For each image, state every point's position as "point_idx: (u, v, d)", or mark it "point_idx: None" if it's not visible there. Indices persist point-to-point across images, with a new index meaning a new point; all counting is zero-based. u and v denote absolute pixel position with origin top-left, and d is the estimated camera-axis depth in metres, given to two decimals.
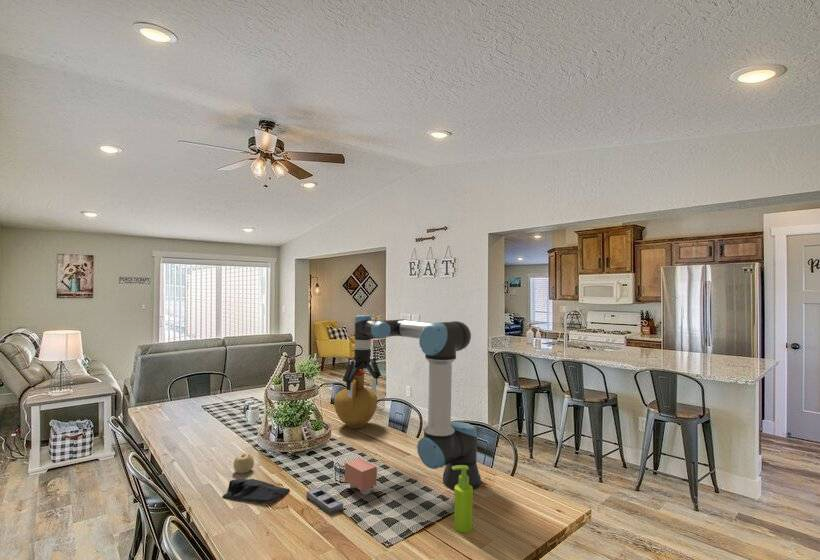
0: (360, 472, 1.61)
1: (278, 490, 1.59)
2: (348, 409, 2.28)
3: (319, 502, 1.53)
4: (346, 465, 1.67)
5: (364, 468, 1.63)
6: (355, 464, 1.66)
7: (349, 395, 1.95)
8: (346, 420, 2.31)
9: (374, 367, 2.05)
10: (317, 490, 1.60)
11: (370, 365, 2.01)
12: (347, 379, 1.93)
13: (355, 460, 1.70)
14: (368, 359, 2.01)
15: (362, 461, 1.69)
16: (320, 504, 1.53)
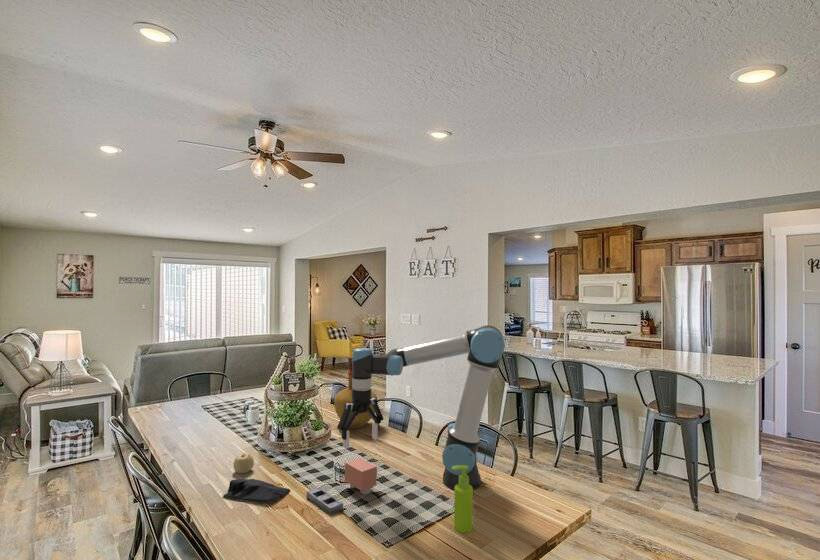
0: (360, 472, 1.61)
1: (278, 490, 1.59)
2: None
3: (319, 502, 1.53)
4: (346, 465, 1.67)
5: (364, 468, 1.63)
6: (355, 464, 1.66)
7: (345, 445, 1.63)
8: None
9: (375, 410, 1.73)
10: (317, 490, 1.60)
11: (370, 408, 1.69)
12: (343, 427, 1.61)
13: (355, 460, 1.70)
14: (368, 401, 1.69)
15: (362, 461, 1.69)
16: (320, 504, 1.53)
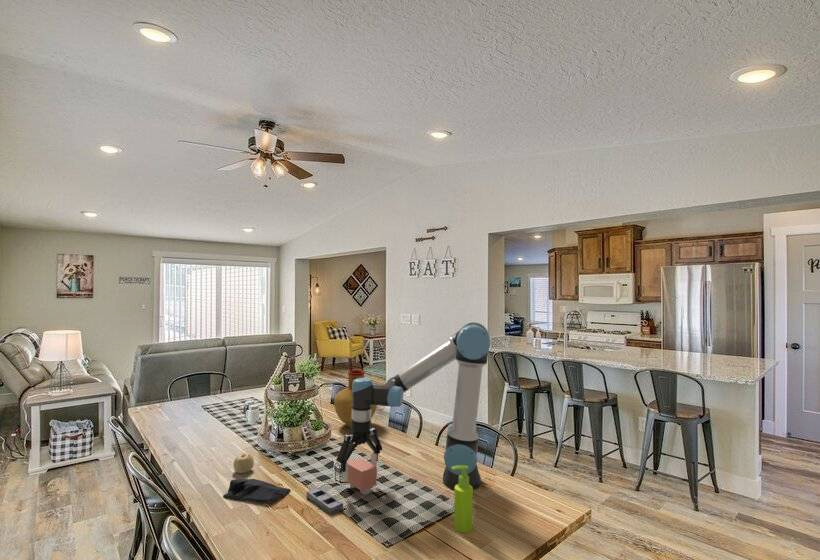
0: (360, 472, 1.61)
1: (279, 490, 1.59)
2: (348, 409, 2.28)
3: (319, 502, 1.53)
4: None
5: (364, 468, 1.63)
6: (355, 464, 1.66)
7: (344, 478, 1.62)
8: (346, 420, 2.31)
9: (374, 440, 1.71)
10: (317, 490, 1.60)
11: None
12: (342, 459, 1.59)
13: (355, 460, 1.70)
14: (367, 432, 1.68)
15: (362, 461, 1.69)
16: (320, 504, 1.53)
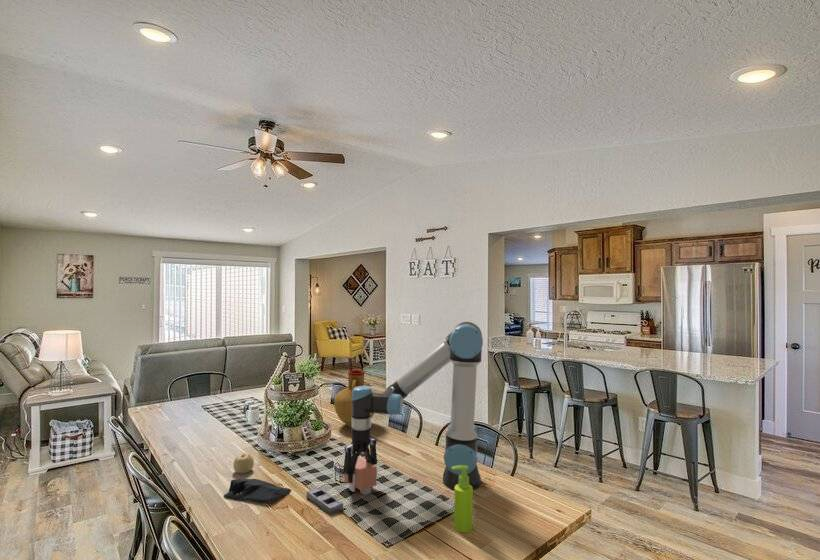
0: (360, 472, 1.61)
1: (279, 490, 1.59)
2: (348, 409, 2.28)
3: (319, 502, 1.53)
4: None
5: (364, 468, 1.63)
6: None
7: (351, 489, 1.63)
8: (346, 420, 2.31)
9: (372, 451, 1.70)
10: (317, 490, 1.60)
11: None
12: (348, 470, 1.61)
13: None
14: (368, 439, 1.68)
15: (362, 461, 1.69)
16: (320, 504, 1.53)
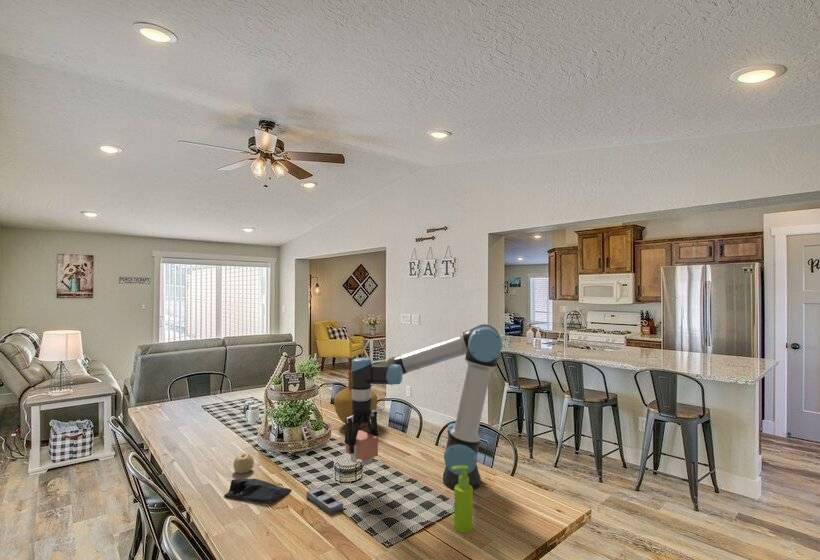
0: (361, 442, 1.61)
1: (279, 490, 1.59)
2: (348, 409, 2.28)
3: (319, 502, 1.53)
4: None
5: (365, 439, 1.63)
6: None
7: (353, 459, 1.63)
8: None
9: (373, 423, 1.70)
10: (317, 490, 1.60)
11: (369, 420, 1.67)
12: (349, 441, 1.61)
13: None
14: (369, 411, 1.68)
15: (363, 433, 1.69)
16: (320, 504, 1.53)
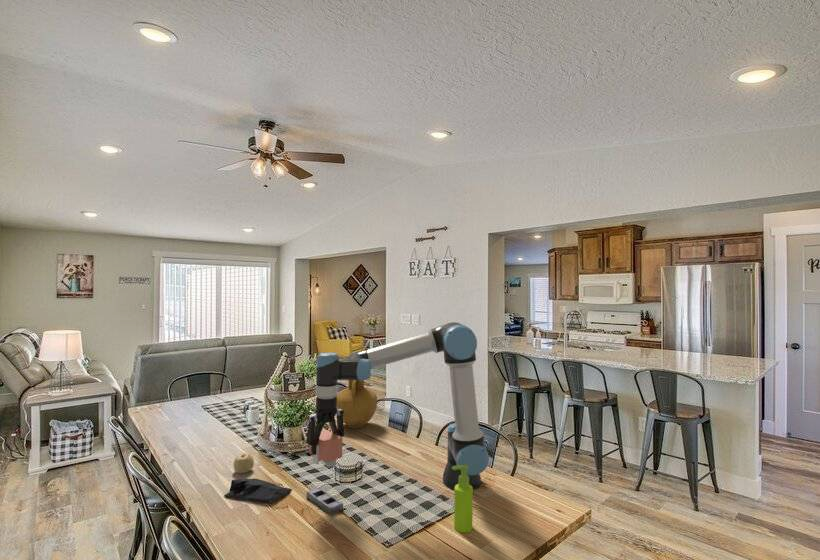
0: (324, 443, 1.50)
1: (280, 490, 1.59)
2: (348, 409, 2.28)
3: (319, 502, 1.53)
4: None
5: (328, 439, 1.53)
6: None
7: (315, 461, 1.53)
8: (346, 420, 2.31)
9: (339, 423, 1.60)
10: (317, 490, 1.60)
11: None
12: (311, 441, 1.51)
13: (321, 431, 1.60)
14: (334, 409, 1.57)
15: (328, 432, 1.59)
16: (320, 504, 1.53)
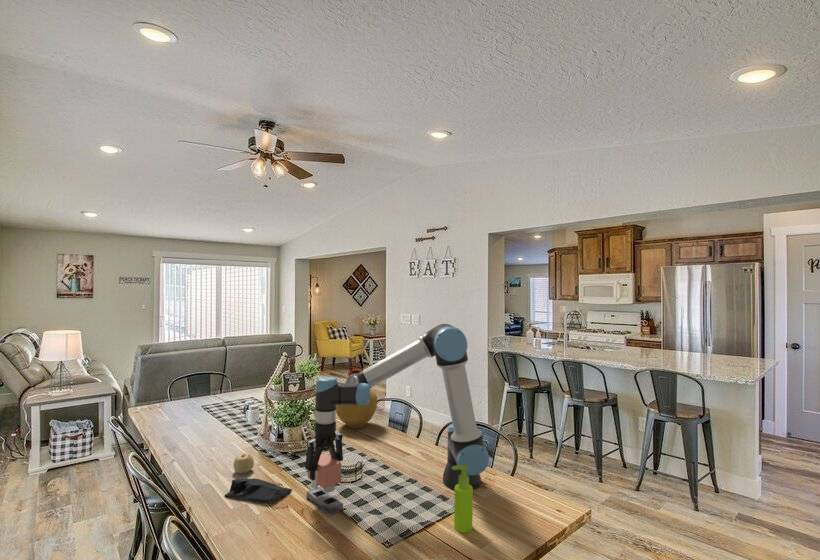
0: (322, 468, 1.50)
1: (280, 490, 1.59)
2: (348, 409, 2.28)
3: (319, 502, 1.53)
4: None
5: (327, 464, 1.52)
6: None
7: (314, 486, 1.53)
8: (346, 420, 2.31)
9: (337, 447, 1.59)
10: (317, 490, 1.60)
11: None
12: (310, 467, 1.50)
13: None
14: (333, 434, 1.57)
15: (327, 457, 1.58)
16: (320, 504, 1.53)
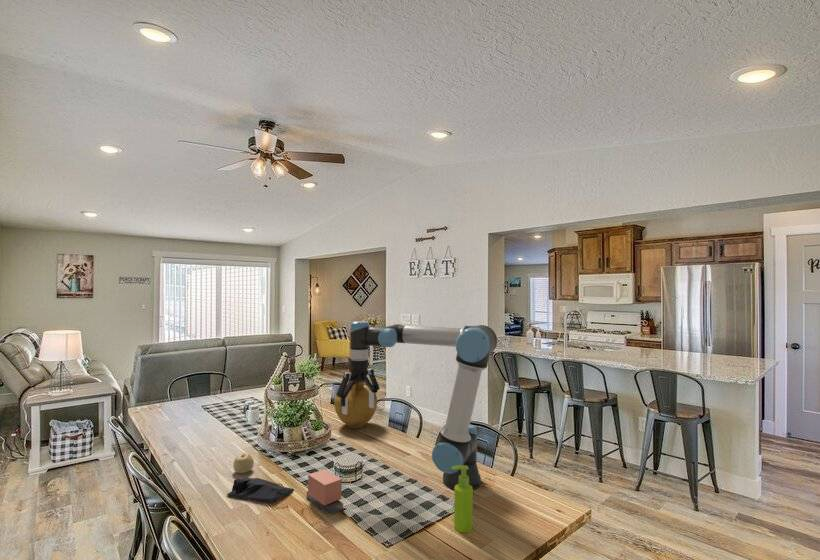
0: (323, 485, 1.50)
1: (281, 490, 1.60)
2: (348, 409, 2.28)
3: (319, 502, 1.53)
4: (309, 477, 1.56)
5: (328, 481, 1.52)
6: (318, 476, 1.55)
7: (344, 412, 1.73)
8: (346, 420, 2.31)
9: (372, 380, 1.83)
10: None
11: (367, 378, 1.79)
12: (341, 394, 1.71)
13: (320, 472, 1.59)
14: (365, 371, 1.79)
15: (327, 473, 1.58)
16: (320, 504, 1.53)
